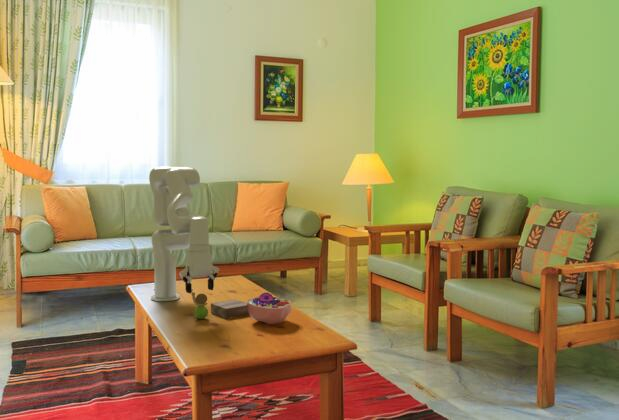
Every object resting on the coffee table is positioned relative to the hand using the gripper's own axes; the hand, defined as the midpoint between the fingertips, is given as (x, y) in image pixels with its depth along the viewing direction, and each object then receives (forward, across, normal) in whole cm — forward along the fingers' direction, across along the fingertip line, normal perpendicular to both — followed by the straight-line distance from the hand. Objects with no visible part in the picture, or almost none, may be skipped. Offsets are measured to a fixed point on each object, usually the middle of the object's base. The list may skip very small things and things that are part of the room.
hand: (199, 291), depth 250 cm
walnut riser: (+11, -15, 0) cm, 18 cm away
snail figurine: (+12, 0, 0) cm, 12 cm away
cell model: (+12, -19, +21) cm, 30 cm away
